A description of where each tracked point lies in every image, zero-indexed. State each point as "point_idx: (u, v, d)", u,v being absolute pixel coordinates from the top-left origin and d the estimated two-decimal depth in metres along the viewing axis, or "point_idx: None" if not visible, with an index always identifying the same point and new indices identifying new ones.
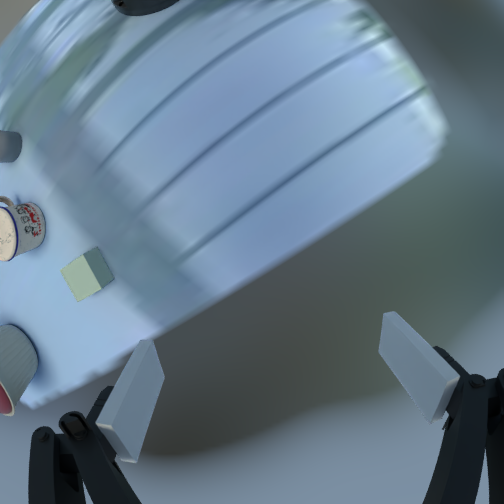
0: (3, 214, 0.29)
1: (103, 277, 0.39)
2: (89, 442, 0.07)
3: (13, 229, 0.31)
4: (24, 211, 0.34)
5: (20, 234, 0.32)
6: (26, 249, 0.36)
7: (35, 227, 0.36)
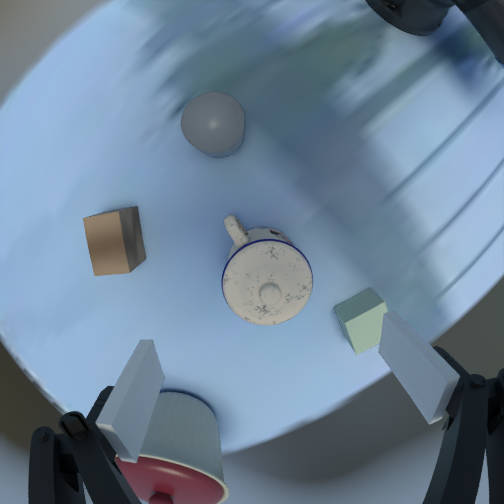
0: (290, 255, 0.26)
1: None
2: (89, 442, 0.07)
3: None
4: (293, 245, 0.31)
5: None
6: None
7: None
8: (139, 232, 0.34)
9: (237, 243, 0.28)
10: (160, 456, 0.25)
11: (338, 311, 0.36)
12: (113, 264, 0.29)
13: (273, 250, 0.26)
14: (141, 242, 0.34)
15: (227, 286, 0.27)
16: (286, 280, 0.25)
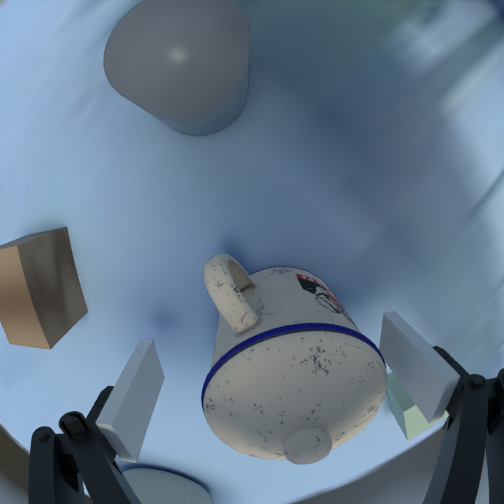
0: (357, 359, 0.10)
1: None
2: (89, 442, 0.07)
3: None
4: (344, 310, 0.15)
5: None
6: None
7: None
8: (71, 271, 0.18)
9: (233, 326, 0.12)
10: None
11: (391, 387, 0.20)
12: (26, 332, 0.13)
13: (320, 355, 0.10)
14: (76, 287, 0.18)
15: (213, 416, 0.11)
16: (343, 414, 0.10)
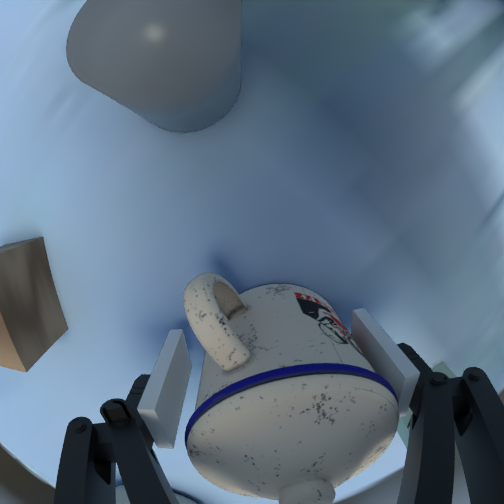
0: (368, 404, 0.08)
1: None
2: (130, 430, 0.08)
3: None
4: (351, 337, 0.12)
5: None
6: None
7: None
8: (48, 286, 0.15)
9: (219, 363, 0.09)
10: None
11: None
12: (2, 352, 0.11)
13: (325, 403, 0.07)
14: (54, 303, 0.16)
15: (198, 462, 0.08)
16: (349, 463, 0.07)
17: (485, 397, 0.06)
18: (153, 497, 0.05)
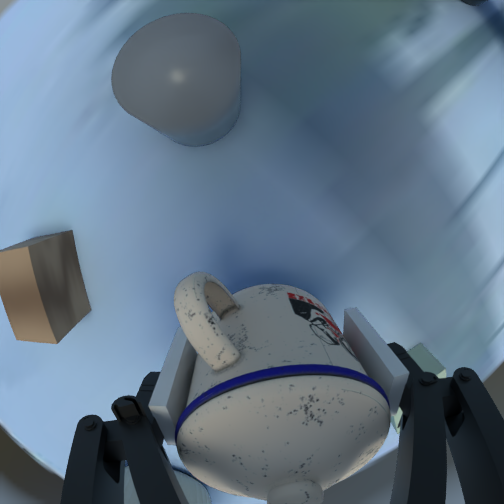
0: (357, 406, 0.08)
1: None
2: (141, 427, 0.08)
3: None
4: (343, 338, 0.12)
5: None
6: None
7: None
8: (76, 272, 0.19)
9: (209, 362, 0.09)
10: None
11: None
12: (34, 328, 0.15)
13: (313, 404, 0.07)
14: (80, 287, 0.20)
15: (188, 460, 0.08)
16: (338, 465, 0.07)
17: (476, 397, 0.07)
18: (163, 494, 0.05)
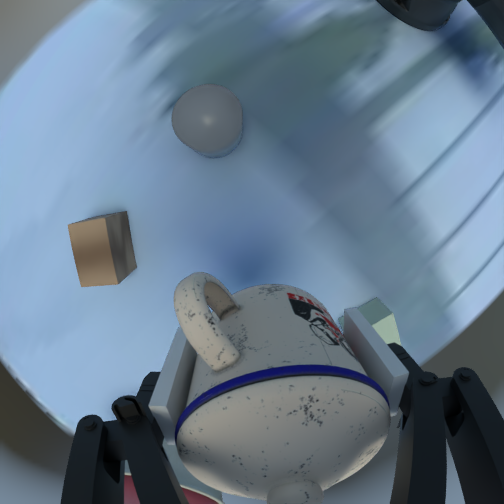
0: (357, 406, 0.08)
1: None
2: (141, 427, 0.08)
3: None
4: (343, 338, 0.12)
5: None
6: None
7: None
8: (129, 239, 0.31)
9: (208, 363, 0.09)
10: None
11: (343, 324, 0.33)
12: (100, 274, 0.26)
13: (312, 405, 0.07)
14: (131, 250, 0.31)
15: (188, 460, 0.08)
16: (338, 465, 0.07)
17: (476, 397, 0.07)
18: (163, 495, 0.05)
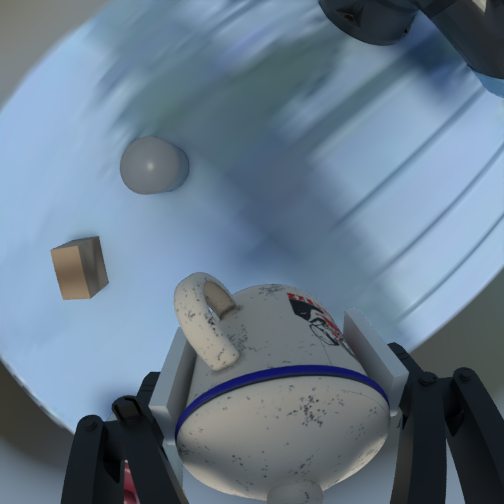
0: (357, 407, 0.08)
1: None
2: (141, 427, 0.08)
3: None
4: (343, 338, 0.12)
5: None
6: None
7: None
8: (101, 260, 0.35)
9: (208, 363, 0.09)
10: None
11: None
12: (77, 290, 0.31)
13: (313, 405, 0.07)
14: (103, 269, 0.36)
15: (188, 461, 0.08)
16: (338, 465, 0.07)
17: (476, 397, 0.07)
18: (163, 495, 0.05)
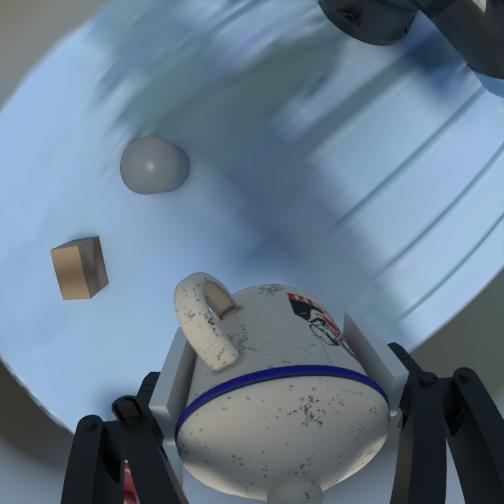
0: (357, 407, 0.08)
1: None
2: (141, 427, 0.08)
3: None
4: (343, 338, 0.12)
5: None
6: None
7: None
8: (101, 260, 0.35)
9: (208, 363, 0.09)
10: None
11: None
12: (77, 290, 0.31)
13: (313, 405, 0.07)
14: (103, 269, 0.36)
15: (188, 461, 0.08)
16: (338, 465, 0.07)
17: (476, 397, 0.07)
18: (163, 495, 0.05)
